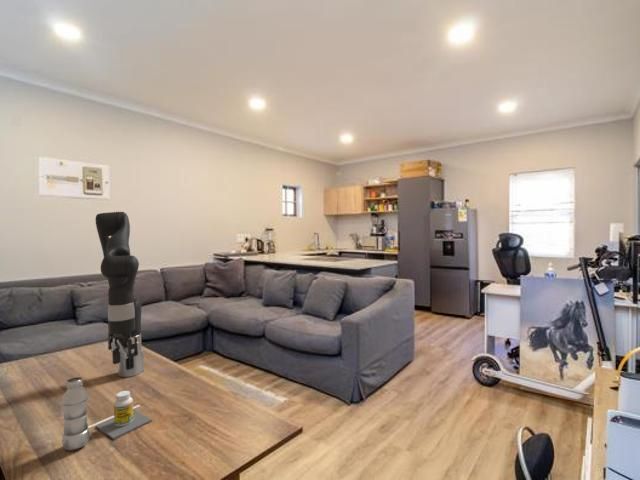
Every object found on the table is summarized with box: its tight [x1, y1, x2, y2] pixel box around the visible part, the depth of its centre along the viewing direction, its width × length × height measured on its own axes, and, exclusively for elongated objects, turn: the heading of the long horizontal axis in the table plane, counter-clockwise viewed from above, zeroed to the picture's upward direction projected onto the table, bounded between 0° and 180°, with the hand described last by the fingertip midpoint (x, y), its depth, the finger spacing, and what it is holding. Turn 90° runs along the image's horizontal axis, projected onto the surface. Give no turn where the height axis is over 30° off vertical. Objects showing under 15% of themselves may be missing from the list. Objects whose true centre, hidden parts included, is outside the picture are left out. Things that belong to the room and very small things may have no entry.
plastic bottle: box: [61, 376, 91, 451], centre depth 99 cm, size 6×7×20 cm
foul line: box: [88, 404, 141, 430], centre depth 114 cm, size 20×1×1 cm, turn 146°
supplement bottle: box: [113, 390, 134, 426], centre depth 111 cm, size 5×5×10 cm
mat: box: [95, 409, 153, 441], centre depth 111 cm, size 12×12×1 cm
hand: (123, 366), depth 110 cm, fingers open, 8 cm apart
